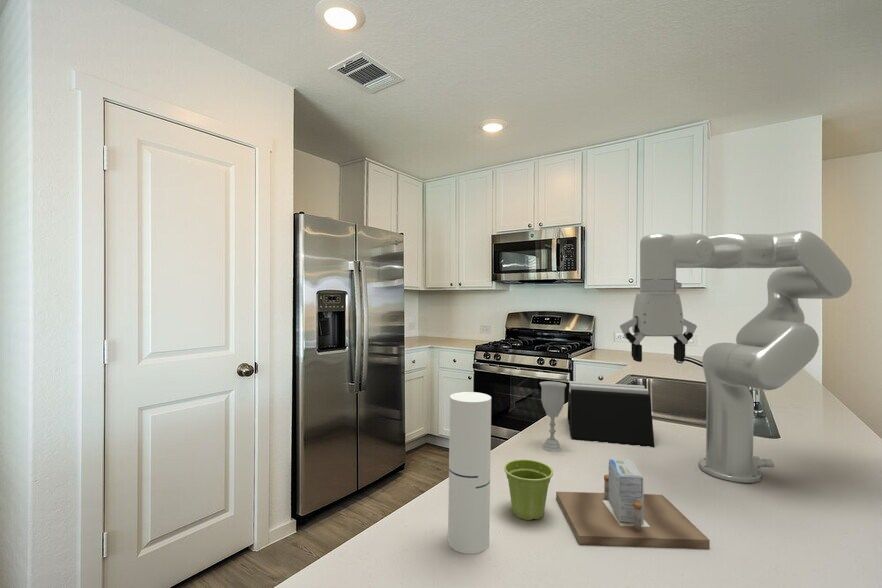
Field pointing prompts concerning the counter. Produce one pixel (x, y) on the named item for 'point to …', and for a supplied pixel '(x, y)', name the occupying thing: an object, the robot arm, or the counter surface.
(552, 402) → the chalice
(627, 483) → the medicine box
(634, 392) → the device stand
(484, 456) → the cylindrical container
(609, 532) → the pin board
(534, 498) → the plant pot
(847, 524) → the counter surface
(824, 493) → the counter surface
